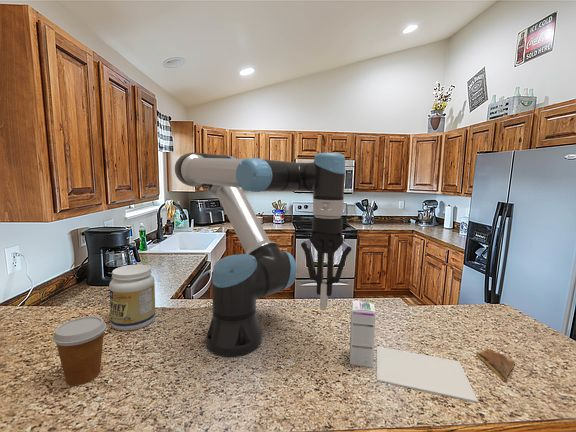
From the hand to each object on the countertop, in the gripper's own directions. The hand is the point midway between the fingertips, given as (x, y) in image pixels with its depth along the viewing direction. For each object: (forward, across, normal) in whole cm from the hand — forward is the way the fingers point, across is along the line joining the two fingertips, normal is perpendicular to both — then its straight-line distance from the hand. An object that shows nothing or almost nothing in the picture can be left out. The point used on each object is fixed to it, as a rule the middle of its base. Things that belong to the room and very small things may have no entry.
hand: (323, 306), depth 74 cm
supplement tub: (+13, -58, -4) cm, 60 cm away
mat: (+13, +24, 0) cm, 27 cm away
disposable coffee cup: (+13, -49, -27) cm, 57 cm away
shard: (+13, +44, +9) cm, 47 cm away
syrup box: (+13, +10, 0) cm, 16 cm away
